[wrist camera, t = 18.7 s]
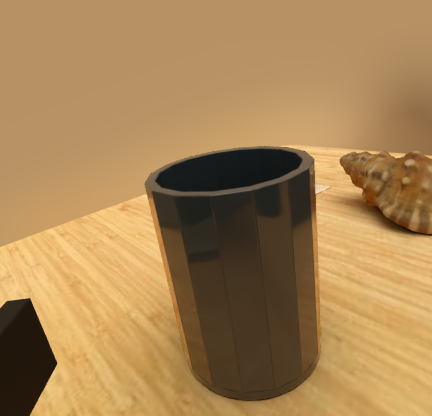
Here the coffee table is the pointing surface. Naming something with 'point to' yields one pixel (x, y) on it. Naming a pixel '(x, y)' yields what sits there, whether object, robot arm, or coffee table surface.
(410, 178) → the seashell
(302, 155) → the cup
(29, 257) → the coffee table surface
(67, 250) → the coffee table surface
